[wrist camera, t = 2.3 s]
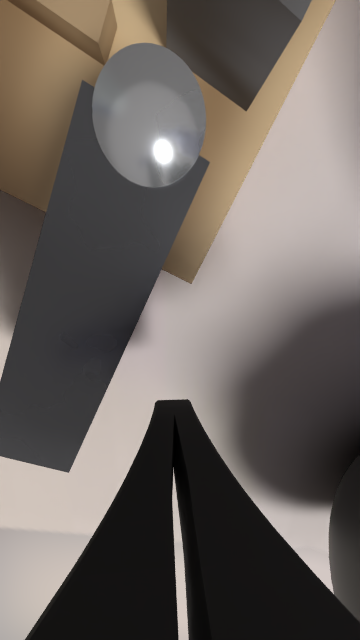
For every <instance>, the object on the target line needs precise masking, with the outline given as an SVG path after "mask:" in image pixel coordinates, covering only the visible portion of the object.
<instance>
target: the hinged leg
mask: <svg viewBox="0 0 360 640" xmlns="http://www.w3.org/2000/svg"><path fill="white" fill-rule="evenodd" d="M205 131H206V109H205V103H204V99H203V95H202V92H201V89H200V86H199V84H198V82H197V80H196V78H195V76H194V74H193V73H192V71H191V70H190V68H189V67H188V65H187V64H186V63H185V62H184V61H183V60H182V59H181V58H180V57H179V56H178V55H176V54H175V53H174V52H172V51H171V50H169V49H167V48H165V47H163V46H160V45H157V44H153V43H135V44H132V45H129V46H126V47H124V48H122V49H121V50H119V51H118V52H116V53H115V54H114V55H113V56H112V57H111V58H110V59H109V60H108V61H107V63H106V64H105V65H104V67H103V68H102V70H101V72H100V74H99V76H98V79H97V82H96V84H95V87H93V86H92V85H90V84H88V83H87V82H85V81H84V80H82V82H81V86H80V89H79V93H78V97H77V100H76V104H75V108H74V112H73V115H72V119H71V123H70V126H69V130H68V134H67V137H66V141H65V145H64V148H63V152H62V156H61V160H60V163H59V167H58V171H57V174H56V178H55V182H54V185H53V189H52V193H51V196H50V200H49V204H48V208H47V211H46V215H45V219H44V222H43V226H42V230H41V233H40V237H39V241H38V244H37V248H36V252H35V255H34V259H33V263H32V267H31V270H30V274H29V278H28V281H27V285H26V289H25V292H24V296H23V300H22V303H21V307H20V311H19V315H18V318H17V322H16V326H15V329H14V333H13V337H12V340H11V344H10V348H9V351H8V355H7V359H6V363H5V366H4V370H3V374H2V377H1V381H0V456H2V457H6V458H10V459H14V460H18V461H22V462H27V463H31V464H35V465H39V466H43V467H47V468H51V469H56V470H60V471H64V472H68V473H69V471H70V469H71V467H72V465H73V462H74V460H75V458H76V456H77V454H78V451H79V449H80V447H81V445H82V443H83V440H84V438H85V436H86V434H87V432H88V429H89V427H90V425H91V423H92V421H93V418H94V416H95V414H96V412H97V410H98V407H99V405H100V403H101V401H102V399H103V397H104V394H105V392H106V390H107V388H108V386H109V383H110V381H111V379H112V377H113V375H114V372H115V370H116V368H117V366H118V364H119V361H120V359H121V357H122V355H123V353H124V350H125V348H126V346H127V344H128V342H129V339H130V337H131V335H132V333H133V331H134V328H135V326H136V324H137V322H138V320H139V317H140V315H141V313H142V311H143V309H144V306H145V304H146V302H147V300H148V298H149V295H150V293H151V291H152V289H153V287H154V285H155V282H156V280H157V278H158V276H159V274H160V271H161V269H162V267H163V265H164V263H165V260H166V258H167V256H168V254H169V252H170V249H171V247H172V245H173V243H174V241H175V238H176V236H177V234H178V232H179V230H180V227H181V225H182V223H183V221H184V219H185V216H186V214H187V212H188V210H189V208H190V205H191V203H192V201H193V199H194V197H195V194H196V192H197V190H198V188H199V186H200V183H201V181H202V179H203V177H204V175H205V173H206V170H207V168H208V166H209V164H210V162H209V161H208V160H206V159H205V158H203V157H201V156H200V155H199V153H200V151H201V148H202V145H203V141H204V137H205Z"/></svg>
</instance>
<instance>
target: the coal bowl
mask: <svg viewBox="0 0 360 640" xmlns="http://www.w3.org/2000/svg"><path fill="white" fill-rule="evenodd" d="M329 560H330V571H331V580H332V584H333V591H334V595H335V596H336V597H337V598H338V599H339V600H340V602H341V603H342V604H343V605H344V606H345V607H346V608H347V609H348V610H349V611H350V612H351V613H352V614H353V615H354V616H355V617H356V618H357V620H358V621H359V622H360V455H359V456H358V457H357V458H356V459H355V460H354V461H353V462H352V464H351V465H350V467H349V468H348V469H347V471H346V472H345V474H344V476H343V477H342V479H341V482H340V484H339V486H338V489H337V491H336V494H335V497H334V501H333V506H332V510H331V516H330V525H329Z"/></svg>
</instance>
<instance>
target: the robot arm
mask: <svg viewBox="0 0 360 640" xmlns="http://www.w3.org/2000/svg"><path fill="white" fill-rule="evenodd" d="M173 467H174V476H175V484H176V492H177V500H178V509H179V517H180V525H181V533H182V541H183V552H184V563H185V581H186V598H187V616H188V634H189V640H360V622H359V621H358V620H357V618H356V617H355V616H354V615H353V614H352V613H351V612H350V611H349V610H348V609H347V608H346V607H345V606H344V605H343V604H342V603H341V602H340V600H339V599H338V598H337V597H336V596H335V595H334V594H333V593H332V592H331V591H330V590H329V589H328V588H327V587H326V586H325V585H324V584H323V582H322V581H321V580H320V579H319V578H318V577H317V576H316V575H315V574H314V573H313V572H312V570H311V569H310V568H309V567H308V566H307V565H306V564H305V562H304V561H303V560H302V559H301V558H300V557H299V556H298V554H297V553H296V552H295V551H294V550H293V549H292V548H291V546H290V545H289V544H288V543H287V542H286V541H285V540H284V539H283V537H282V536H281V535H280V534H279V533H278V532H277V531H276V529H275V528H274V527H273V526H272V525H271V523H270V522H269V521H268V520H267V518H266V517H265V516H264V515H263V513H262V512H261V511H260V510H259V509H258V507H257V506H256V505H255V504H254V502H253V501H252V500H251V498H250V497H249V496H248V494H247V493H246V492H245V491H244V489H243V488H242V487H241V485H240V484H239V482H238V481H237V480H236V478H235V477H234V476H233V474H232V473H231V471H230V470H229V468H228V467H227V465H226V464H225V462H224V461H223V459H222V458H221V456H220V455H219V453H218V452H217V450H216V449H215V447H214V445H213V444H212V442H211V440H210V439H209V437H208V435H207V434H206V432H205V430H204V429H203V427H202V425H201V423H200V421H199V419H198V417H197V415H196V413H195V411H194V409H193V407H192V404H191V402H190V401H189V400H188V399H186V400H158V401H157V402H156V403H155V407H154V411H153V415H152V418H151V421H150V424H149V427H148V429H147V432H146V434H145V437H144V439H143V441H142V444H141V446H140V449H139V451H138V453H137V455H136V457H135V459H134V461H133V464H132V466H131V468H130V470H129V472H128V474H127V476H126V478H125V480H124V482H123V484H122V486H121V487H120V489H119V491H118V493H117V495H116V497H115V499H114V500H113V502H112V504H111V506H110V507H109V509H108V511H107V513H106V514H105V516H104V518H103V520H102V521H101V523H100V525H99V526H98V528H97V530H96V531H95V533H94V535H93V536H92V538H91V539H90V541H89V543H88V544H87V546H86V548H85V549H84V551H83V553H82V554H81V556H80V557H79V559H78V561H77V562H76V564H75V565H74V567H73V568H72V570H71V572H70V573H69V574H68V576H67V577H66V579H65V581H64V582H63V584H62V585H61V586H60V588H59V589H58V591H57V592H56V594H55V596H54V597H53V598H52V600H51V602H50V603H49V604H48V606H47V607H46V609H45V611H44V612H43V613H42V615H41V616H40V618H39V619H38V621H37V623H36V624H35V625H34V627H33V628H32V630H31V631H30V633H29V635H28V636H27V637H26V639H25V640H178V620H177V600H176V599H177V598H176V577H175V556H174V533H173V510H172V489H173Z"/></svg>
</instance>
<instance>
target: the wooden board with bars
mask: <svg viewBox="0 0 360 640" xmlns="http://www.w3.org/2000/svg"><path fill="white" fill-rule="evenodd" d="M335 1H336V0H0V190H2V191H4V192H6V193H8V194H10V195H12V196H14V197H16V198H18V199H20V200H22V201H24V202H26V203H28V204H30V205H32V206H34V207H36V208H38V209H40V210H42V211H44V212H46V211H47V208H48V204H49V200H50V196H51V193H52V189H53V185H54V182H55V178H56V174H57V171H58V167H59V163H60V160H61V156H62V152H63V148H64V145H65V141H66V137H67V134H68V130H69V126H70V123H71V119H72V115H73V112H74V108H75V104H76V100H77V97H78V93H79V89H80V86H81V82H82V80H84V81H85V82H87V83H88V84H90V85H92V86H93V87H95V84H96V82H97V79H98V76H99V74H100V72H101V70H102V68H103V67H104V65H105V64H106V63H107V61H108V60H109V59H110V58H111V57H112V56H113V55H114V54H115V53H116V52H118V51H119V50H121V49H122V48H124V47H126V46H129V45H132V44H135V43H153V44H157V45H160V46H163V47H165V48H167V49H169V50H171V51H172V52H174V53H175V54H176V55H178V56H179V57H180V58H181V59H182V60H183V61H184V62H185V63H186V64H187V65H188V67H189V68H190V70H191V71H192V73H193V74H194V76H195V78H196V80H197V82H198V84H199V86H200V89H201V92H202V95H203V99H204V103H205V109H206V131H205V137H204V141H203V145H202V148H201V151H200V153H199V155H200V156H201V157H203V158H205V159H206V160H208V161H209V162H210V164H209V166H208V168H207V170H206V173H205V175H204V177H203V179H202V181H201V183H200V186H199V188H198V190H197V192H196V194H195V197H194V199H193V201H192V203H191V205H190V208H189V210H188V212H187V214H186V216H185V219H184V221H183V223H182V225H181V227H180V230H179V232H178V234H177V236H176V238H175V241H174V243H173V245H172V247H171V249H170V252H169V254H168V256H167V258H166V260H165V263H164V265H163V267H162V270H164V271H166V272H168V273H170V274H172V275H174V276H176V277H178V278H180V279H182V280H184V281H186V282H189V283H191V284H192V282H193V280H194V278H195V276H196V274H197V272H198V270H199V268H200V266H201V264H202V262H203V260H204V258H205V256H206V254H207V252H208V250H209V248H210V246H211V244H212V243H213V241H214V239H215V237H216V235H217V233H218V231H219V229H220V227H221V225H222V223H223V221H224V219H225V217H226V215H227V213H228V211H229V209H230V207H231V205H232V203H233V201H234V199H235V197H236V195H237V193H238V191H239V189H240V187H241V185H242V183H243V182H244V180H245V178H246V176H247V174H248V172H249V170H250V168H251V166H252V164H253V162H254V160H255V158H256V156H257V154H258V152H259V150H260V148H261V146H262V144H263V142H264V140H265V138H266V136H267V134H268V132H269V130H270V128H271V126H272V124H273V122H274V121H275V119H276V117H277V115H278V113H279V111H280V109H281V107H282V105H283V103H284V101H285V99H286V97H287V95H288V93H289V91H290V89H291V87H292V85H293V83H294V81H295V79H296V77H297V75H298V73H299V71H300V69H301V67H302V65H303V63H304V61H305V60H306V58H307V56H308V54H309V52H310V50H311V48H312V46H313V44H314V42H315V40H316V38H317V36H318V34H319V32H320V30H321V28H322V26H323V24H324V22H325V20H326V18H327V16H328V14H329V12H330V10H331V8H332V6H333V4H334V2H335Z"/></svg>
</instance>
